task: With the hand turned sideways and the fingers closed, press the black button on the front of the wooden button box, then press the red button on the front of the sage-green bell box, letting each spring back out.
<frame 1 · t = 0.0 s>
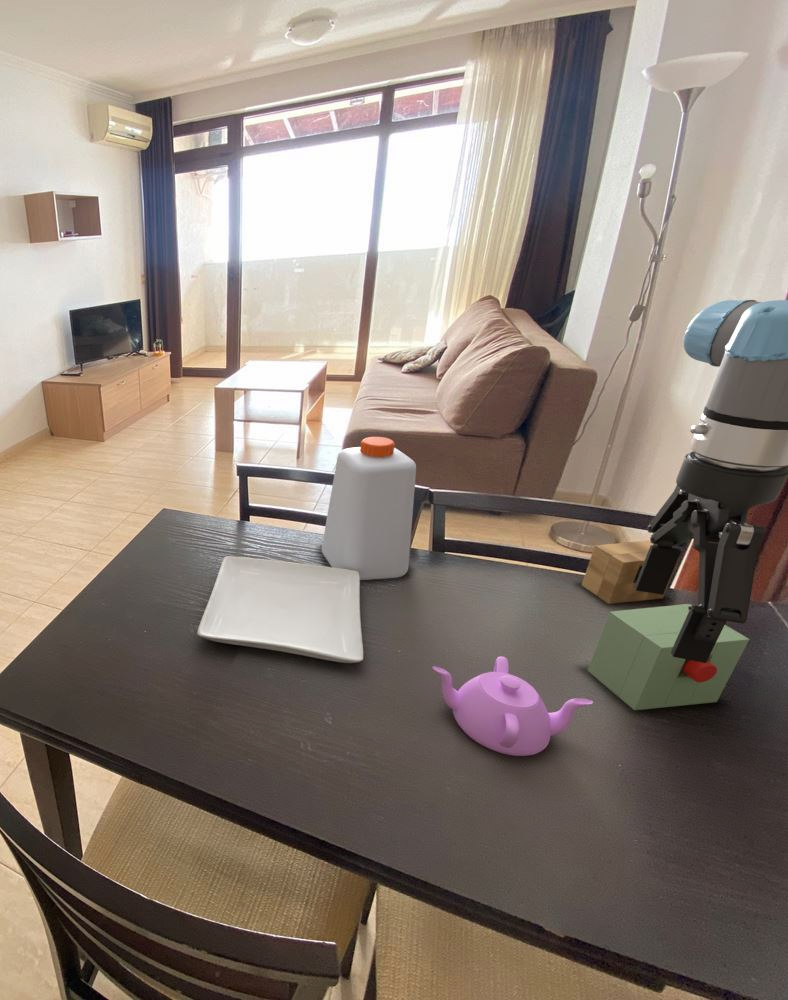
hand: (666, 622, 65), 20 cm above the table, tool pointing down, fingers open, 13 cm apart
green bell box: (647, 689, 80), on the table
wooden button box: (619, 594, 100), on the table
plastic bottle: (362, 563, 117), on the table
teapot: (494, 728, 77), on the table
square plate: (282, 615, 103), on the table
black button: (649, 576, 94), point 7 cm above the table, slide at 0.0 cm
red button: (699, 669, 73), point 8 cm above the table, slide at 0.0 cm
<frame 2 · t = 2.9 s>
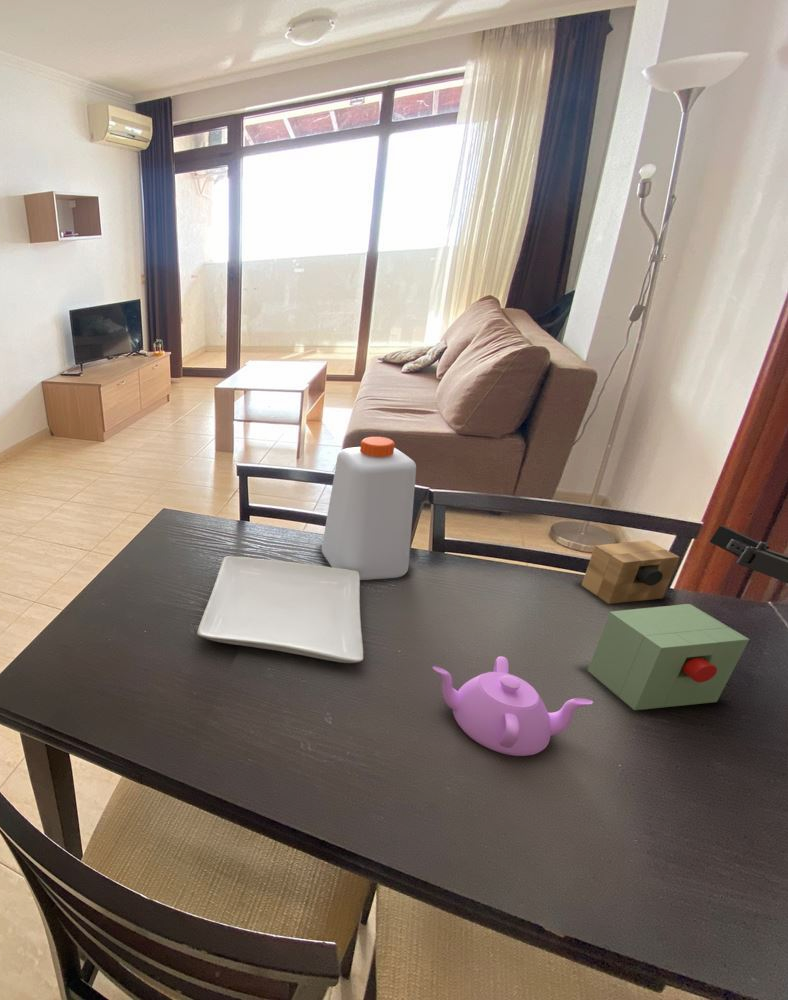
hand: (766, 542, 77), 20 cm above the table, tool horizontal, fingers open, 13 cm apart
nothing on the table moved.
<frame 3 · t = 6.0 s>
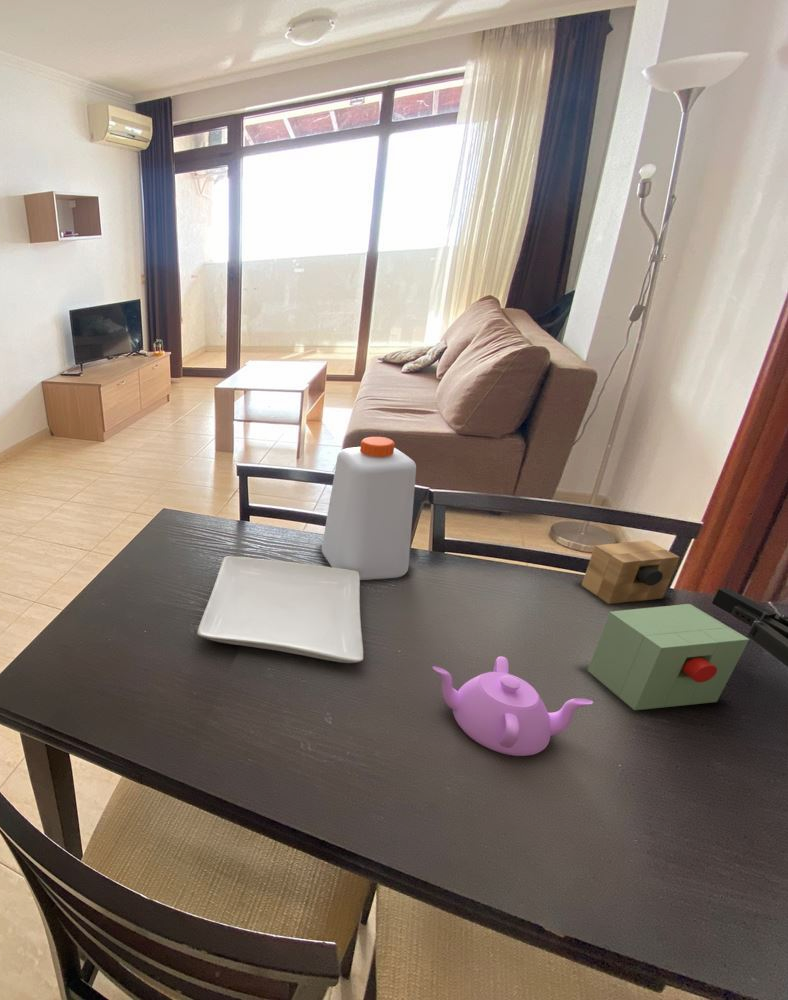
hand: (720, 595, 83), 10 cm above the table, tool horizontal, fingers closed
nothing on the table moved.
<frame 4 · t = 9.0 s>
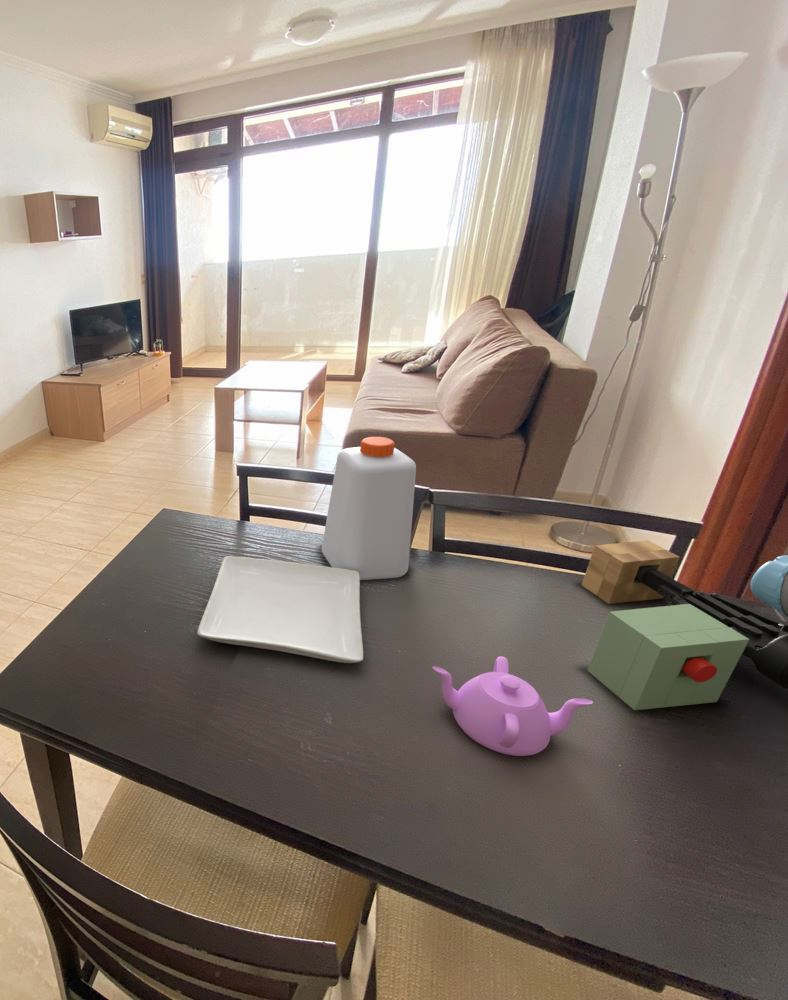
hand: (649, 576, 94), 6 cm above the table, tool horizontal, fingers closed
black button: (644, 573, 95), point 7 cm above the table, slide at -1.0 cm, touching gripper
everything else where it was.
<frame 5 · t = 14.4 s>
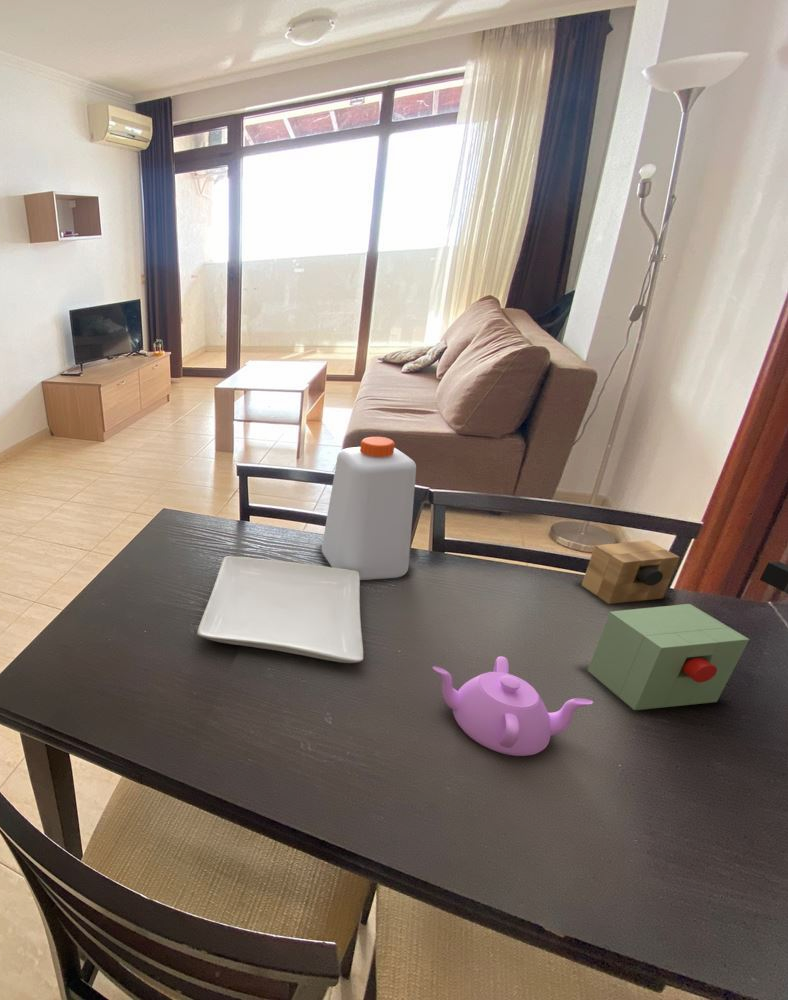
hand: (769, 570, 71), 20 cm above the table, tool horizontal, fingers closed
black button: (649, 576, 94), point 7 cm above the table, slide at 0.1 cm
everything else where it was.
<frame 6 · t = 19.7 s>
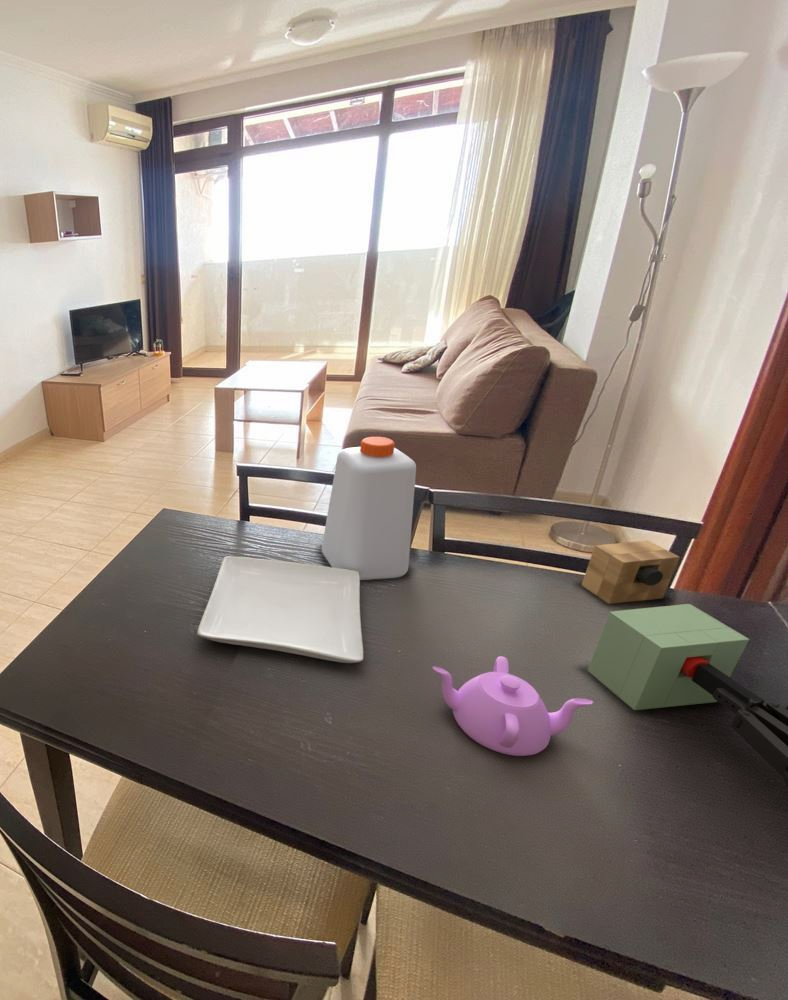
hand: (700, 672, 73), 8 cm above the table, tool horizontal, fingers closed
red button: (693, 665, 73), point 8 cm above the table, slide at -0.8 cm, touching gripper
everything else where it was.
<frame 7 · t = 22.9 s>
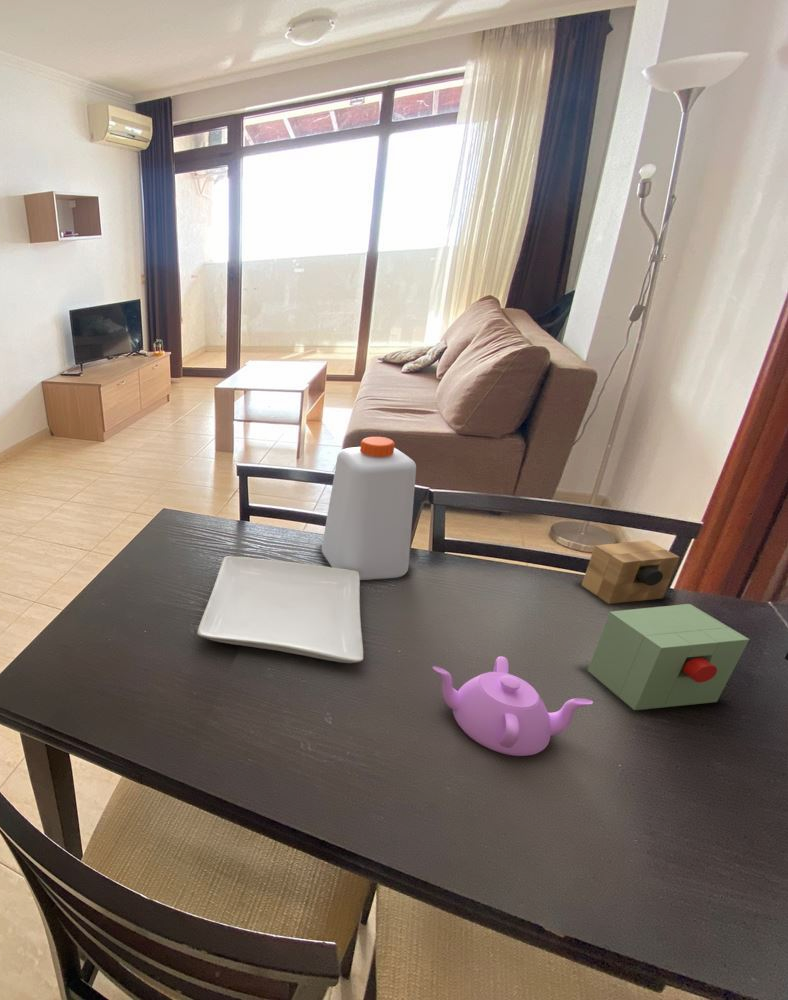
red button: (699, 670, 73), point 8 cm above the table, slide at 0.1 cm
everything else where it was.
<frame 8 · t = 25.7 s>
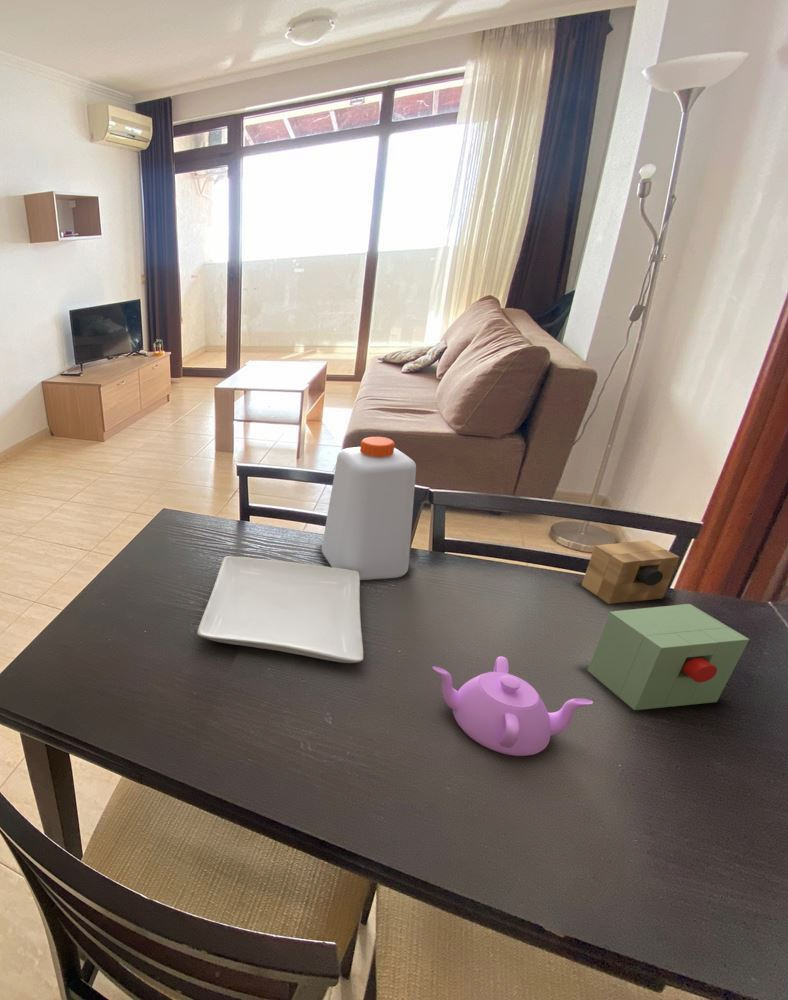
nothing on the table moved.
at the end: black button pushed in 1.8 cm at the most during the clip, back to where it started at the end; red button pushed in 1.7 cm at the most during the clip, back to where it started at the end; red button slide at 0.1 cm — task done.
